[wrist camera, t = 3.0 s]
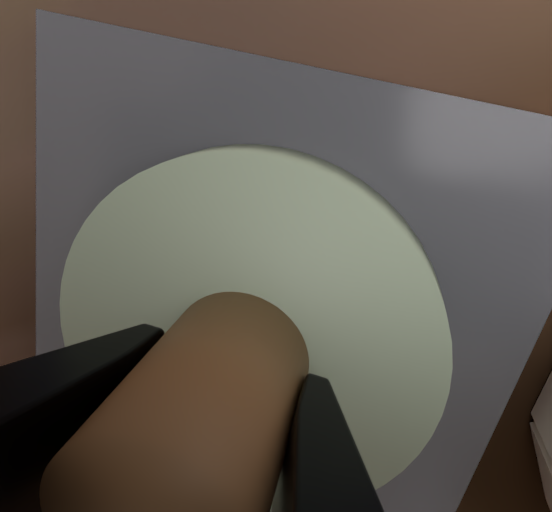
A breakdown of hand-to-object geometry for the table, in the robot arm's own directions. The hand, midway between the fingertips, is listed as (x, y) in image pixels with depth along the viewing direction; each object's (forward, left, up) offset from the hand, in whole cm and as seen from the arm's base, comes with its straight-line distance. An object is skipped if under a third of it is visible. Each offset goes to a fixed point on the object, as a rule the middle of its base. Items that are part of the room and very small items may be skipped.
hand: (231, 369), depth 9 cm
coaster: (0, 0, -2) cm, 2 cm away
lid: (0, 0, -2) cm, 2 cm away
